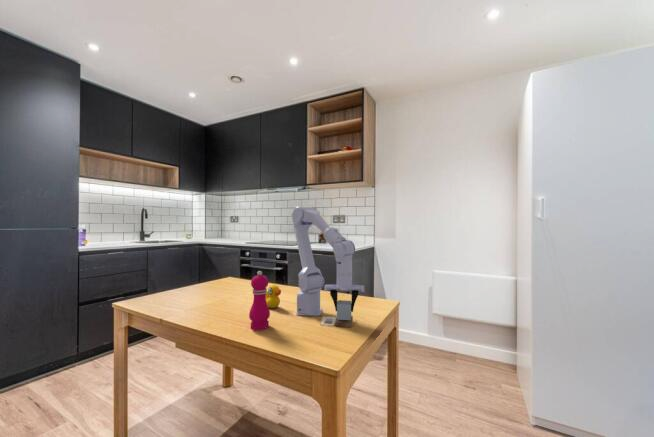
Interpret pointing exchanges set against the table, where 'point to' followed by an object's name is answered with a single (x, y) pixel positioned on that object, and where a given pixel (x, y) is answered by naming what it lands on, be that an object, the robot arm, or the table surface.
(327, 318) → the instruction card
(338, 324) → the base brick
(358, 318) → the table surface
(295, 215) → the robot arm
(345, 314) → the gray brick
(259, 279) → the pepper mill
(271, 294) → the duckling
